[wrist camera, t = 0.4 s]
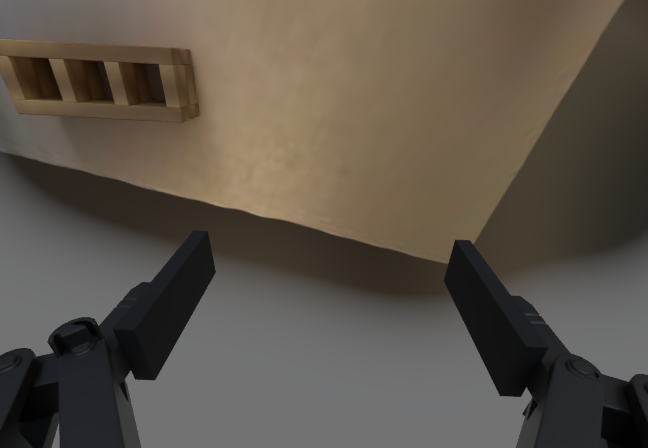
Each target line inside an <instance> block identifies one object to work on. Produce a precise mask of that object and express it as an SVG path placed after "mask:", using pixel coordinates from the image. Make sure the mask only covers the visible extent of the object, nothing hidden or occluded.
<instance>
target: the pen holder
mask: <svg viewBox="0 0 648 448" xmlns="http://www.w3.org/2000/svg"><path fill="white" fill-rule="evenodd" d="M47 58H49V61H50V64H51V67H52V70H53V73H54V76H55V79H56V81H57V84H58V87H59V90H60V93H61V96H60V94H59V91H58V88H57V85H56V82H55V79H54V76H53V74H52V71H51V68H50V65H49V62H48V59H47ZM96 61H104V65H105V69H106V73H107V76H108V80H109V84H110V87H111V91H112V95H113V98H114V99H112V98H106V96H105V93H104V89H103V86H102V82H101V79H100V75H99V72H98V68H97V64H96ZM144 63H145V64H159V69H160V74H161V79H162V84H163V90H164V95H165V100H166V101H151V100H152V99H151V94H150V90H149V85H148V80H147V76H146V71H145V66H144ZM0 72H1V74H2V77H3V79H4V81H5V84H6V86H7V88H8V91H9V93H10V95H11V98H12V99H13V102H14V105H15V107H16V109H17V112H18V113H19V114H34V115H52V116H71V117H89V118H108V119H126V120H145V121H163V122H182V123H183V122H185V121H188V120H190V119H193V118H195V117H198V116H200V115H199V108H198V101H197V94H196V87H195V80H194V74H193V67H192V60H191V53H190V50H189V49H178V48H164V47H145V46H126V45H107V44H87V43H68V42H49V41H30V40H11V39H0Z"/></svg>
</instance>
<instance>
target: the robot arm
mask: <svg viewBox="0 0 648 448" xmlns="http://www.w3.org/2000/svg"><path fill="white" fill-rule="evenodd" d="M215 272H216V271H215V266H214V261H213V256H212V251H211V246H210V240H209V236H208V231H193V232H192V233H191V234H190V236H189V237H188V238H187V239H186V241H185V242H184V243H183V244H182V245H181V246H180V248H179V249H178V250H177V251H176V253H175V254H174V255H173V256H172V257H171V259H170V260H169V261H168V262H167V263H166V264H165V266H164V267H163V268H162V269H161V271H160V272H159V273H158V274H157V275H156V277H155V278H154V279H153V280H152V281H151V282H142V283H140V284H139V285H138V286H136V287H134V288H133V289H131V290H130V291H129V293H128V294H127V295H126V296H125V297H124V298H123V300H122V301H121V302H120V303H119V304H118V305H117V307H116V308H114V309H113V311H112V312H111V313H110V314H109V315H108V316H107V317H106V319H105V320H104V321H103V322H102V323H101V324H100V325H99V326H98V324H97V322H96V321H95V319H93V318H90V317H82V318H78V319H74V320H71V321H69V322H67V323H65V324H63V325H61V326H60V327H59V328H57V329H56V330H55V331H54V332H53V333H52V334H51V335H50V336H49V339H48V344H49V345H50V347H51V348H52V350H53V352H54V353H52V354H47V355H42V356H37V357H36V355H35V354H34V352H33V351H32V350H31V349H27V348H20V349H15V350H12V351H9V352H6V353H4V354H2V355H1V356H0V448H51V447H52V444H53V440H54V437H55V434H56V430H57V427H58V423H59V429H60V430H59V431H60V432H59V433H60V448H141V445H140V440H139V436H138V431H137V427H136V422H135V418H134V414H133V409H132V405H131V400H130V396H129V391H128V387H127V384H126V381H125V378H126V376H127V375H128V373H129V372H130V370H131V371H132V373H133V375H134V378H135V379H137V380H155V379H156V378H157V376H158V374H159V372H160V370H161V369H162V367H163V365H164V363H165V362H166V360H167V358H168V356H169V354H170V353H171V351H172V349H173V347H174V345H175V344H176V342H177V340H178V338H179V337H180V335H181V333H182V331H183V330H184V328H185V326H186V324H187V322H188V321H189V319H190V317H191V315H192V314H193V312H194V310H195V308H196V306H197V304H198V303H199V301H200V299H201V298H202V296H203V294H204V292H205V290H206V289H207V287H208V285H209V283H210V282H211V280H212V278H213V276H214V274H215ZM444 282H445V284H446V286H447V288H448V290H449V292H450V294H451V296H452V299H453V301H454V303H455V305H456V307H457V309H458V311H459V313H460V315H461V317H462V319H463V321H464V323H465V325H466V327H467V329H468V331H469V333H470V335H471V337H472V339H473V342H474V343H475V345H476V348H477V350H478V352H479V354H480V356H481V358H482V360H483V362H484V364H485V366H486V368H487V370H488V372H489V374H490V376H491V378H492V380H493V382H494V384H495V386H496V389H497V390H498V393H499V395H500V396H513V397H521V396H522V394H523V392H524V390H525V388H526V387H527V388H528V390H529V392H530V394H531V395H532V399H531V401H530V402H529V404H528V406H527V407H526V409H525V411H524V412H523V415H524V416H525V419H524V423H523V426H522V429H521V433H520V436H519V439H518V443H517V446H516V448H648V375H644V374H637V375H635V376H634V377H632V379H631V380H630V381H629V382H627V381H623V380H620V379H617V378H613V377H610V376H606V375H603V374H601V372H600V371H599V370H598V369H597V368H596V367H595V366H594V365H593V364H591V363H590V362H589V361H587V360H585V359H583V358H582V357H579V356H576V355H574V354H571V353H570V352H569V351H568V350H567V348H566V347H565V346H564V345H563V343H562V342H561V341H560V340H559V338H558V337H557V336H556V335H555V333H554V332H553V331H552V330H551V328H550V327H549V326H548V325H547V324H546V322H545V321H544V320H543V318H542V317H541V316H539V313H538V312H537V311H536V310H535V308H534V307H533V306H532V305H531V304H530V303H529V302H527V301H526V300H525V299H523V298H522V297H520V296H511V295H510V294H509V293H508V291H507V290H506V289H505V287H504V286H503V284H502V283H501V282H500V280H499V279H498V278H497V276H496V275H495V274H494V272H493V271H492V270H491V268H490V267H489V266H488V264H487V263H486V262H485V260H484V259H483V258H482V256H481V255H480V253H479V252H478V251H477V249H476V248H475V247H474V245H473V244H472V243H471V241H470V240H455V243H454V246H453V250H452V253H451V257H450V261H449V264H448V268H447V271H446V275H445V279H444Z"/></svg>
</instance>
